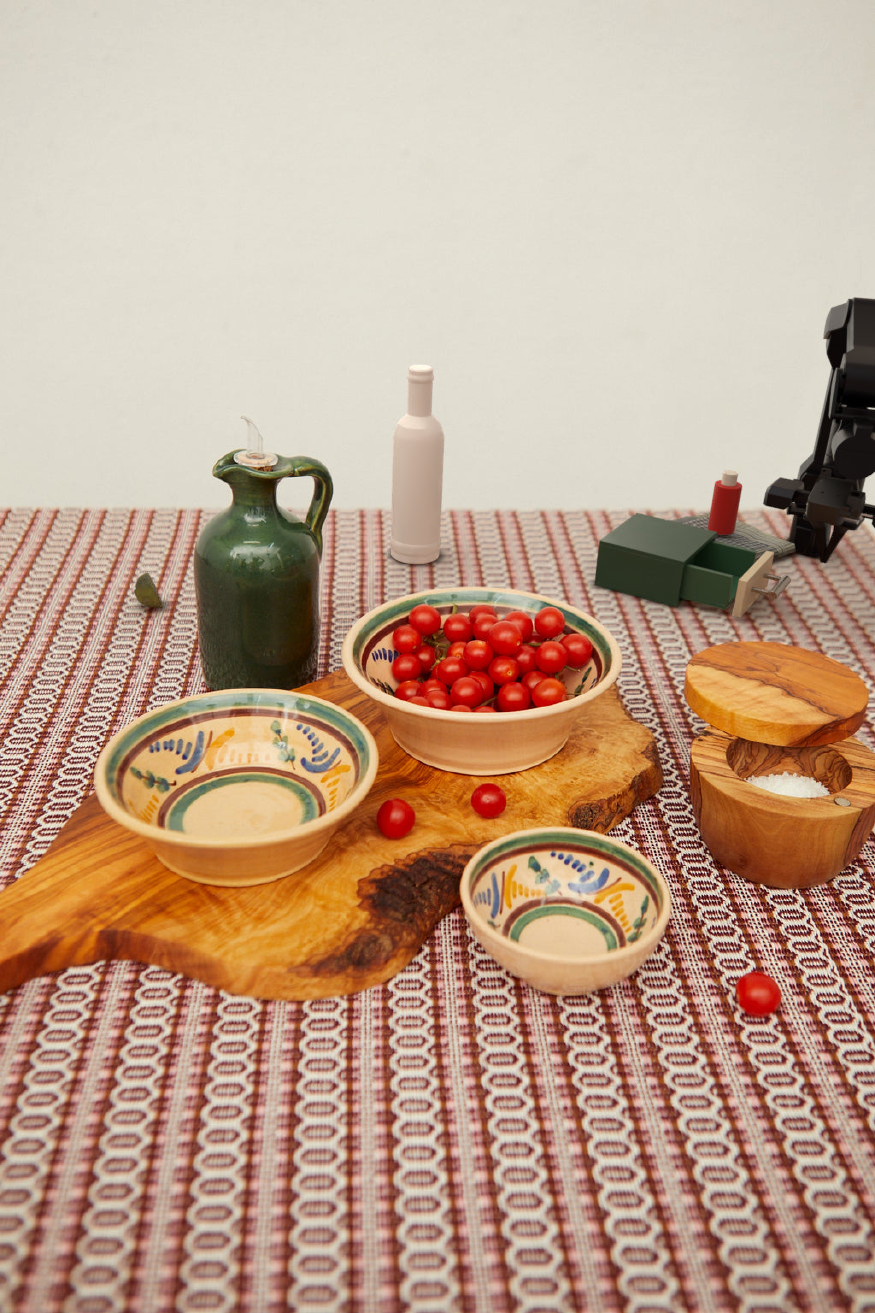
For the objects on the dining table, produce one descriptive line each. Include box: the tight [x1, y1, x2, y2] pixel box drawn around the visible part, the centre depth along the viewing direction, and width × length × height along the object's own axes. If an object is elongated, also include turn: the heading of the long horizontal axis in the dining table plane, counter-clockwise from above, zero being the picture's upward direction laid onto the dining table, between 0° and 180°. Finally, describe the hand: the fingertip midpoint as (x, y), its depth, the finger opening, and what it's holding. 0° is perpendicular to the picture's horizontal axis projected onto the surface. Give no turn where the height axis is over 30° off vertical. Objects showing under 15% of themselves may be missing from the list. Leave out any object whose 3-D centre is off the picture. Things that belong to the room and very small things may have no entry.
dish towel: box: [668, 512, 796, 562], centre depth 183 cm, size 19×18×3 cm
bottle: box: [389, 363, 445, 565], centre depth 168 cm, size 8×8×30 cm
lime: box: [133, 572, 164, 609], centre depth 154 cm, size 4×5×5 cm
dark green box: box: [593, 512, 717, 609], centre depth 168 cm, size 13×14×7 cm
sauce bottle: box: [708, 469, 743, 535], centre depth 180 cm, size 4×4×10 cm
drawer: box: [680, 540, 792, 618], centre depth 163 cm, size 16×13×6 cm
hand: (823, 562), depth 155 cm, fingers closed
